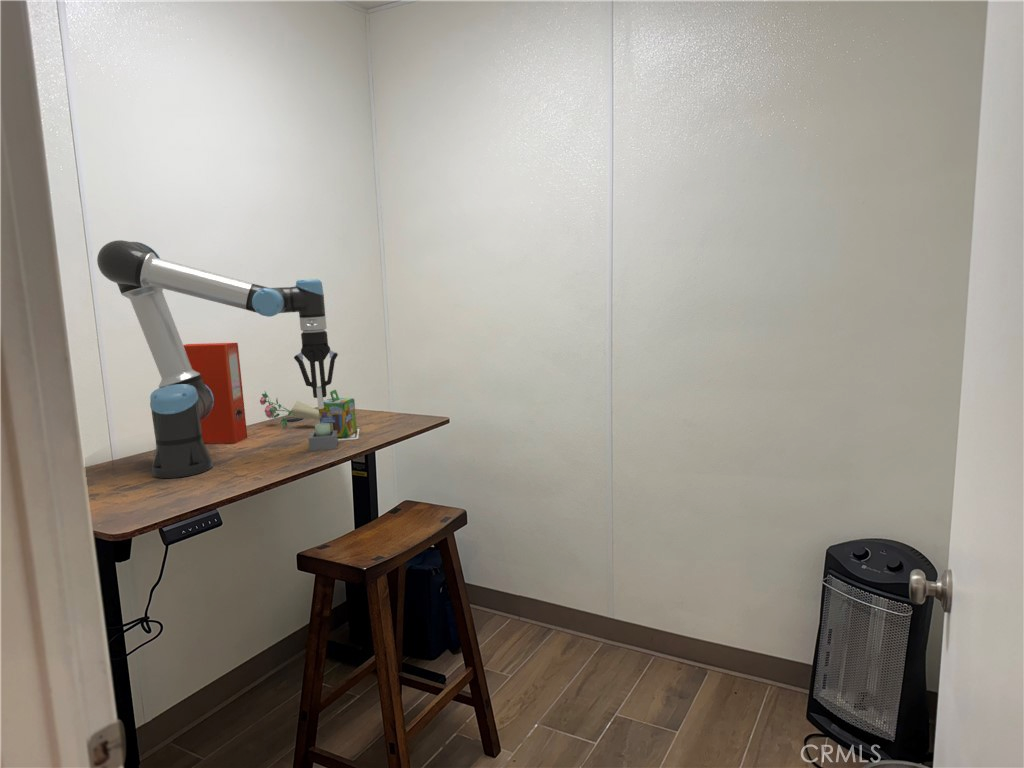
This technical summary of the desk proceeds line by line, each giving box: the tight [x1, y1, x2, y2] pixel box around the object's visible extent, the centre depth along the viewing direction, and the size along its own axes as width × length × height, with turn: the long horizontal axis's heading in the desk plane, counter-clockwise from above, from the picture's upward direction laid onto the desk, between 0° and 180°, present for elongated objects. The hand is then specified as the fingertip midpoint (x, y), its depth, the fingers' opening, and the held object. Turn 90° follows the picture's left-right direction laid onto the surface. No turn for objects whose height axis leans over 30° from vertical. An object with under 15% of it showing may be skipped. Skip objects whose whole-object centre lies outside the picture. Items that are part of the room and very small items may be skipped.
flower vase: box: [259, 390, 320, 429], centre depth 236 cm, size 12×12×35 cm
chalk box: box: [318, 389, 358, 437], centre depth 219 cm, size 9×9×15 cm
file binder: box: [183, 342, 248, 444], centre depth 218 cm, size 8×17×32 cm, turn 81°
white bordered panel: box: [338, 428, 360, 442], centre depth 220 cm, size 12×14×1 cm
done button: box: [314, 422, 331, 437], centre depth 206 cm, size 4×4×4 cm
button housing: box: [307, 430, 339, 452], centre depth 207 cm, size 8×8×4 cm
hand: (321, 407), depth 205 cm, fingers closed
